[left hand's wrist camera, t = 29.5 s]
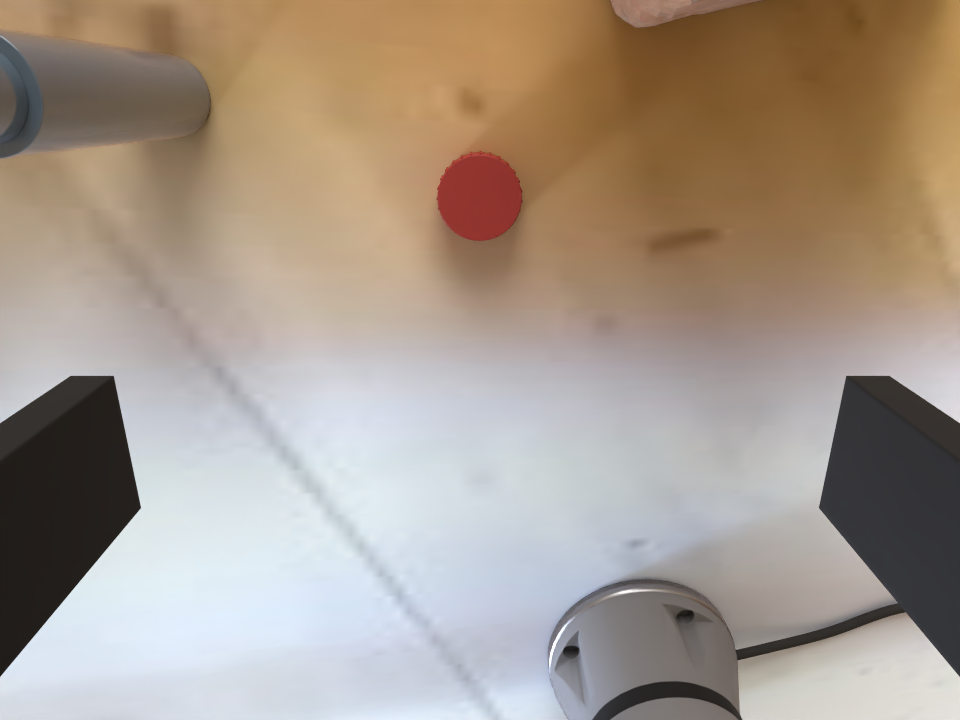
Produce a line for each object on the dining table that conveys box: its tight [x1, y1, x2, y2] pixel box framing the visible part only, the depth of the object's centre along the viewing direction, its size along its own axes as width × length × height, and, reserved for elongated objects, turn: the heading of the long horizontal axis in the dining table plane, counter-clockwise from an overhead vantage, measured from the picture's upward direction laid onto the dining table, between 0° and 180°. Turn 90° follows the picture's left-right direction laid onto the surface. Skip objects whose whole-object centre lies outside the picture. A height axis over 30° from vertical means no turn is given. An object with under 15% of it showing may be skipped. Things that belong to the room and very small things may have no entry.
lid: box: [437, 151, 522, 241], centre depth 43 cm, size 5×5×2 cm
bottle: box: [0, 28, 210, 159], centre depth 33 cm, size 5×5×19 cm
